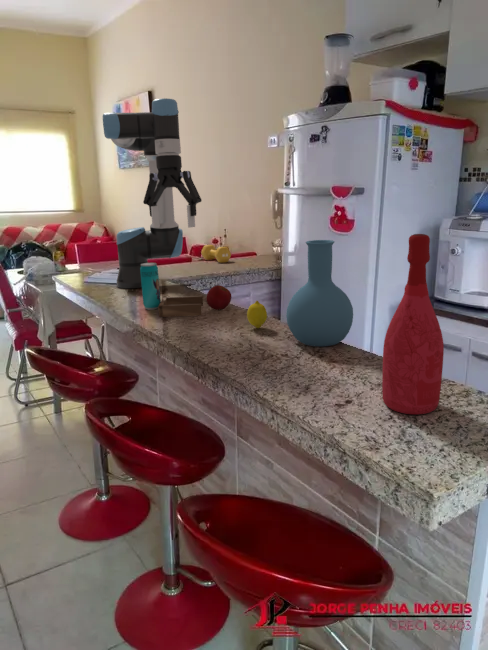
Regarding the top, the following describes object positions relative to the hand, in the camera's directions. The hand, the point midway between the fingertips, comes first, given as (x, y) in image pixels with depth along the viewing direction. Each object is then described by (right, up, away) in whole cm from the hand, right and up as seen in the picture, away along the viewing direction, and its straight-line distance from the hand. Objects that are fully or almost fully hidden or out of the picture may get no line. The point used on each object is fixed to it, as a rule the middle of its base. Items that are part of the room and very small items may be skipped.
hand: (173, 227), depth 156 cm
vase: (+41, -35, -29) cm, 61 cm away
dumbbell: (+7, +4, +116) cm, 116 cm away
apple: (+14, -26, +7) cm, 30 cm away
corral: (+2, -26, +7) cm, 27 cm away
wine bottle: (+51, -45, -67) cm, 96 cm away
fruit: (+26, -31, -16) cm, 43 cm away
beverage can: (-9, -25, +13) cm, 29 cm away
